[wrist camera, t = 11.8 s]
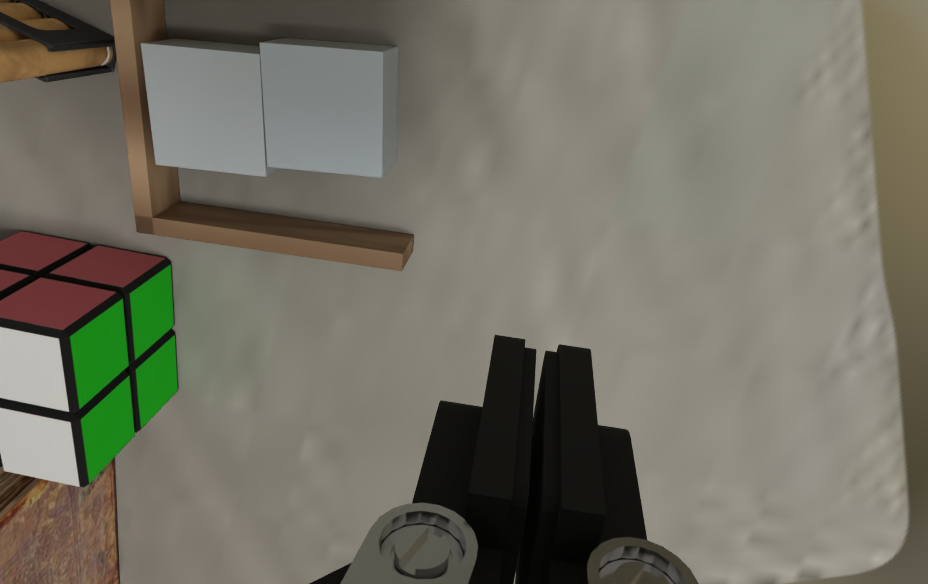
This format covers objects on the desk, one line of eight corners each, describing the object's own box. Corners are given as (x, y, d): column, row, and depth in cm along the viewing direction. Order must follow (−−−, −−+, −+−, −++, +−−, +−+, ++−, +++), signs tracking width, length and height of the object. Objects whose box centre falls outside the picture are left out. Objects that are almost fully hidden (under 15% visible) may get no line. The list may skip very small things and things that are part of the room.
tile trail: (286, 37, 35) (259, 42, 32) (399, 46, 34) (383, 51, 31) (292, 151, 37) (267, 166, 34) (397, 161, 37) (382, 177, 34)
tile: (177, 38, 36) (140, 43, 32) (286, 48, 35) (259, 54, 32) (189, 149, 38) (155, 164, 35) (290, 160, 38) (265, 176, 34)
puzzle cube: (19, 228, 42) (-130, 295, 33) (173, 256, 41) (64, 333, 32) (41, 364, 46) (-86, 456, 37) (180, 392, 45) (86, 493, 36)
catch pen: (138, -70, 33) (101, -75, 31) (434, -37, 32) (422, -39, 30) (165, 215, 40) (136, 232, 37) (412, 251, 39) (401, 271, 36)
